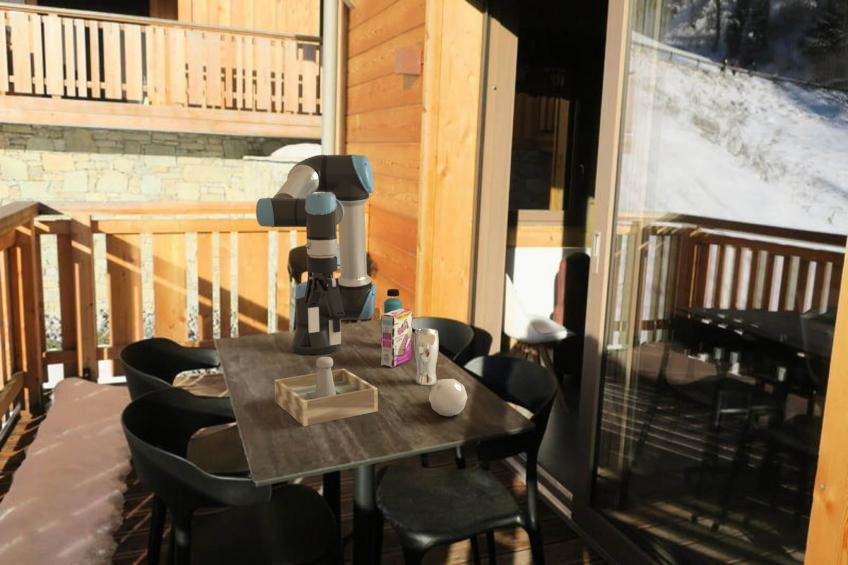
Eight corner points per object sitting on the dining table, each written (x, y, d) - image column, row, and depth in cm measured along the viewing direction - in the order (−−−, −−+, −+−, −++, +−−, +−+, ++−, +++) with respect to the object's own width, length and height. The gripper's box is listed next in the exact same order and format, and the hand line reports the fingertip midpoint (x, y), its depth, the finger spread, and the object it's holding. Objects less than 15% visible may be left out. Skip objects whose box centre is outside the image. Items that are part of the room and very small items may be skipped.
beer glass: (426, 376, 209) (426, 327, 206) (443, 381, 204) (443, 331, 201) (409, 381, 204) (409, 331, 201) (426, 387, 199) (426, 335, 197)
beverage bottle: (385, 344, 245) (384, 287, 241) (404, 344, 244) (404, 287, 240) (381, 349, 238) (381, 290, 235) (401, 350, 238) (400, 291, 234)
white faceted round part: (444, 428, 173) (440, 413, 188) (477, 405, 173) (470, 392, 188) (422, 398, 172) (419, 385, 187) (454, 374, 172) (449, 364, 187)
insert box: (275, 401, 187) (274, 380, 186) (344, 389, 197) (344, 368, 196) (303, 426, 170) (303, 402, 169) (377, 411, 181) (377, 388, 179)
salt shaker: (332, 411, 181) (331, 361, 178) (311, 409, 182) (309, 360, 179) (339, 403, 186) (338, 355, 184) (318, 401, 187) (317, 354, 185)
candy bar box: (394, 368, 217) (393, 316, 214) (380, 366, 219) (379, 314, 216) (412, 359, 226) (412, 309, 223) (399, 357, 229) (399, 307, 226)
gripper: (289, 250, 185) (292, 329, 190) (328, 263, 165) (330, 352, 169) (316, 248, 189) (318, 325, 193) (357, 261, 168) (359, 347, 172)
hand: (324, 338), depth 181 cm, fingers open, 13 cm apart
